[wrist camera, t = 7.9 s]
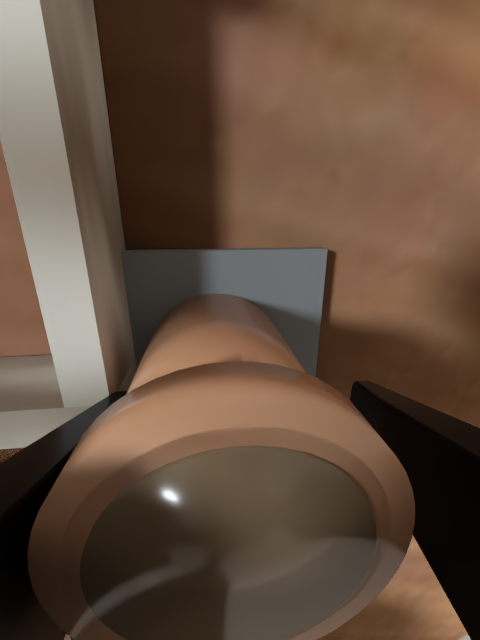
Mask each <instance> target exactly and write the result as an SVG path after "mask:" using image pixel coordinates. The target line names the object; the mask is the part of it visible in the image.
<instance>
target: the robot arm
mask: <svg viewBox="0 0 480 640" xmlns="http://www.w3.org/2000/svg"><path fill="white" fill-rule="evenodd" d="M126 394H127V391H116V392H114V393H112V394H110V395H109V396H107V397H106V398H104V399H102V400H101V401H99V402H98V403H96V404H94V405H93V406H91V407H90V408H88V409H86V410H85V411H83V412H82V413H80V414H78V415H77V416H75V417H74V418H72V419H70V420H69V421H67V422H65V423H64V424H62V425H61V426H59V427H57V428H56V429H54V430H53V431H51V432H49V433H48V434H46V435H45V436H43V437H41V438H40V439H38V440H37V441H35V442H33V443H32V444H30V445H29V446H27V447H25V448H24V449H22V450H20V451H19V452H17V453H16V454H14V455H12V456H11V457H9V458H8V459H6V460H4V461H3V462H1V463H0V640H64V637H65V634H66V633H65V632H64V631H63V630H62V629H61V628H60V627H59V626H58V625H56V624H55V623H54V622H53V621H52V620H51V618H50V617H49V616H48V614H47V613H46V612H45V610H44V609H43V608H42V606H41V605H40V603H39V601H38V599H37V597H36V594H35V592H34V590H33V588H32V584H31V580H30V576H29V572H28V553H27V551H28V545H29V540H30V534H31V530H32V527H33V525H34V522H35V519H36V517H37V514H38V512H39V510H40V508H41V506H42V504H43V503H44V501H45V499H46V497H47V496H48V494H49V492H50V490H51V489H52V487H53V485H54V483H55V481H56V480H57V478H58V476H59V474H60V473H61V471H62V469H63V467H64V466H65V464H66V462H67V460H68V459H69V457H70V455H71V453H72V452H73V450H74V448H75V447H76V445H77V443H78V442H79V440H80V438H81V437H82V435H83V434H84V432H85V431H86V430H87V429H88V428H89V426H90V425H91V424H92V423H93V422H94V421H95V419H96V418H97V417H98V416H99V415H101V414H102V413H103V412H104V411H105V410H106V409H107V408H108V407H110V406H111V405H112V404H113V403H114V402H116V401H117V400H119V399H120V398H122V397H123V396H125V395H126ZM350 401H351V402H352V403H353V405H354V406H355V407H356V408H357V409H358V410H359V411H360V412H361V414H362V415H363V416H364V417H365V418H366V420H367V421H368V422H369V423H370V425H371V426H372V427H373V428H374V429H375V431H376V432H377V433H378V434H379V436H380V437H381V438H382V439H383V440H384V442H385V443H386V444H387V445H388V447H389V448H390V449H391V450H392V451H393V453H394V454H395V455H396V456H397V458H398V460H399V461H400V463H401V464H402V466H403V468H404V469H405V471H406V473H407V476H408V478H409V481H410V484H411V486H412V489H413V495H414V501H415V523H414V529H413V536H414V538H415V539H416V541H417V543H418V545H419V547H420V548H421V550H422V552H423V554H424V556H425V557H426V559H427V561H428V563H429V565H430V566H431V568H432V570H433V572H434V574H435V575H436V577H437V579H438V581H439V583H440V584H441V586H442V588H443V590H444V592H445V593H446V595H447V597H448V599H449V601H450V602H451V604H452V606H453V608H454V609H455V611H456V613H457V615H458V617H459V618H460V620H461V622H462V624H463V626H464V627H465V629H466V631H467V633H468V635H469V636H470V638H471V640H480V428H478V427H475V426H473V425H471V424H468V423H466V422H464V421H461V420H459V419H456V418H454V417H452V416H449V415H447V414H445V413H442V412H440V411H438V410H435V409H433V408H431V407H428V406H426V405H424V404H421V403H419V402H417V401H414V400H412V399H410V398H407V397H405V396H403V395H400V394H398V393H395V392H393V391H391V390H388V389H386V388H384V387H381V386H379V385H377V384H374V383H372V382H370V381H355V382H354V383H353V385H352V391H351V398H350ZM70 638H71V640H75V639H73V638H72V637H70Z"/></svg>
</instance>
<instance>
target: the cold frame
mask: <svg viewBox="0 0 480 640" xmlns="http://www.w3.org/2000/svg"><path fill="white" fill-rule="evenodd" d="M0 140H1V144H2V149H3V153H4V157H5V161H6V165H7V170H8V174H9V178H10V182H11V186H12V190H13V195H14V199H15V203H16V207H17V211H18V216H19V220H20V224H21V228H22V232H23V237H24V241H25V245H26V249H27V253H28V257H29V262H30V266H31V270H32V274H33V278H34V283H35V287H36V291H37V295H38V299H39V304H40V308H41V312H42V316H43V320H44V324H45V329H46V333H47V337H48V341H49V345H50V350H51V354H52V355H35V356H15V357H0V449H11V448H24V447H27V446H29V445H30V444H32V443H33V442H35V441H37V440H38V439H40V438H41V437H43V436H45V435H46V434H48V433H49V432H51V431H53V430H54V429H56V428H57V427H59V426H61V425H62V424H64V423H65V422H67V421H69V420H70V419H72V418H74V417H75V416H77V415H78V414H80V413H82V412H83V411H85V410H86V409H88V408H90V407H91V406H93V405H94V404H96V403H98V402H99V401H101V400H102V399H104V398H106V397H107V396H109V395H110V394H112V393H114V392H116V391H128V389H129V387H130V385H131V382H132V380H133V378H134V376H135V373H136V371H137V368H136V361H135V354H134V346H133V339H132V331H131V324H130V317H129V309H128V302H127V294H126V287H125V280H124V272H123V265H122V257H121V252H122V251H124V250H125V242H124V234H123V227H122V219H121V211H120V203H119V196H118V188H117V180H116V173H115V165H114V157H113V149H112V142H111V134H110V126H109V119H108V111H107V103H106V95H105V88H104V80H103V72H102V65H101V57H100V49H99V41H98V34H97V26H96V18H95V11H94V3H93V0H0Z"/></svg>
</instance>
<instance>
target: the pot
mask: <svg viewBox="0 0 480 640" xmlns="http://www.w3.org/2000/svg"><path fill="white" fill-rule="evenodd" d="M414 523H415V501H414V495H413V489H412V486H411V484H410V481H409V478H408V476H407V473H406V471H405V469H404V468H403V466H402V464H401V463H400V461H399V460H398V458H397V456H396V455H395V454H394V453H393V451H392V450H391V449H390V448H389V447H388V445H387V444H386V443H385V442H384V440H383V439H382V438H381V437H380V436H379V434H378V433H377V432H376V431H375V429H374V428H373V427H372V426H371V425H370V423H369V422H368V421H367V420H366V418H365V417H364V416H363V415H362V414H361V412H360V411H359V410H358V409H357V408H356V407H355V406H354V405H353V403H352V402H351V401H350V400H349V399H348V398H347V397H345V396H344V395H343V394H342V393H340V392H339V391H338V390H337V389H335V388H334V387H332V386H330V385H329V384H327V383H325V382H324V381H322V380H320V379H318V378H316V377H314V376H311V375H309V374H307V373H306V372H305V370H304V369H303V367H302V366H301V364H300V363H299V361H298V360H297V358H296V357H295V355H294V354H293V352H292V351H291V349H290V348H289V346H288V345H287V343H286V342H285V340H284V339H283V337H282V336H281V335H280V333H279V332H278V330H277V329H276V327H275V326H274V324H273V323H272V321H271V320H270V318H269V317H268V316H267V315H266V314H265V313H264V311H262V310H261V309H260V308H259V307H258V306H256V305H255V304H253V303H251V302H250V301H248V300H245V299H243V298H240V297H237V296H234V295H228V294H216V293H214V294H205V295H200V296H196V297H193V298H190V299H188V300H186V301H184V302H182V303H180V304H178V305H177V306H175V307H174V308H173V309H171V310H170V311H169V312H168V313H167V314H166V315H165V316H164V317H163V318H162V320H161V321H160V322H159V324H158V325H157V327H156V329H155V331H154V333H153V335H152V338H151V340H150V342H149V344H148V347H147V349H146V351H145V353H144V355H143V358H142V360H141V362H140V364H139V367H138V369H137V371H136V373H135V376H134V378H133V380H132V382H131V385H130V387H129V389H128V391H127V394H126V395H125V396H123V397H122V398H120V399H119V400H117V401H116V402H114V403H113V404H112V405H111V406H110V407H108V408H107V409H106V410H105V411H104V412H103V413H102V414H101V415H99V416H98V417H97V418H96V419H95V421H94V422H93V423H92V424H91V425H90V426H89V428H88V429H87V430H86V431H85V432H84V434H83V435H82V437H81V438H80V440H79V442H78V443H77V445H76V447H75V448H74V450H73V452H72V453H71V455H70V457H69V459H68V460H67V462H66V464H65V466H64V467H63V469H62V471H61V473H60V474H59V476H58V478H57V480H56V481H55V483H54V485H53V487H52V489H51V490H50V492H49V494H48V496H47V497H46V499H45V501H44V503H43V504H42V506H41V508H40V510H39V512H38V514H37V517H36V519H35V522H34V525H33V527H32V530H31V534H30V540H29V545H28V551H27V553H28V572H29V576H30V580H31V584H32V588H33V590H34V592H35V594H36V597H37V599H38V601H39V603H40V605H41V606H42V608H43V609H44V610H45V612H46V613H47V614H48V616H49V617H50V618H51V620H52V621H53V622H54V623H55V624H56V625H58V626H59V627H60V628H61V629H62V630H63V631H64V632H65V633H66V634H68V635H69V636H70V637H72V638H73V639H75V640H318V639H319V638H321V637H323V636H325V635H327V634H329V633H330V632H332V631H334V630H335V629H337V628H338V627H340V626H341V625H343V624H344V623H346V622H348V621H349V620H350V619H351V618H353V617H354V616H355V615H357V614H358V613H359V612H360V611H362V610H363V609H364V608H365V607H366V606H367V605H368V604H369V603H370V602H371V601H373V600H374V599H375V598H376V597H377V596H378V594H379V593H380V592H381V591H382V590H383V589H384V588H385V586H386V585H387V584H388V583H389V581H390V580H391V578H392V577H393V576H394V574H395V573H396V571H397V570H398V568H399V566H400V564H401V562H402V561H403V559H404V557H405V555H406V553H407V550H408V547H409V544H410V541H411V539H412V534H413V529H414Z"/></svg>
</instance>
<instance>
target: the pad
mask: <svg viewBox="0 0 480 640" xmlns="http://www.w3.org/2000/svg"><path fill="white" fill-rule="evenodd" d="M327 251H328V249H326V248H322V247H310V248H237V249H164V250H124V251H122V252H121V257H122V265H123V272H124V280H125V287H126V294H127V302H128V309H129V317H130V324H131V331H132V339H133V346H134V354H135V361H136V368H137V369H138V367H139V364H140V362H141V360H142V358H143V355H144V353H145V351H146V349H147V347H148V344H149V342H150V340H151V338H152V335H153V333H154V331H155V329H156V327H157V325H158V324H159V322H160V321H161V320H162V318H163V317H164V316H165V315H166V314H167V313H168V312H169V311H170V310H171V309H173V308H174V307H175V306H177V305H178V304H180V303H182V302H184V301H186V300H188V299H190V298H193V297H196V296H200V295H205V294H214V293H216V294H228V295H234V296H237V297H240V298H243V299H245V300H248V301H250V302H251V303H253V304H255V305H256V306H258V307H259V308H260V309H261V310H262V311H264V313H265V314H266V315H267V316H268V317H269V318H270V320H271V321H272V323H273V324H274V326H275V327H276V329H277V330H278V332H279V333H280V335H281V336H282V337H283V339H284V340H285V342H286V343H287V345H288V346H289V348H290V349H291V351H292V352H293V354H294V355H295V357H296V358H297V360H298V361H299V363H300V364H301V366H302V367H303V369H304V370H305V372H306V373H307V374H309V375H311V376H314V377H316V369H317V358H318V347H319V337H320V326H321V315H322V305H323V294H324V283H325V273H326V262H327Z"/></svg>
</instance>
